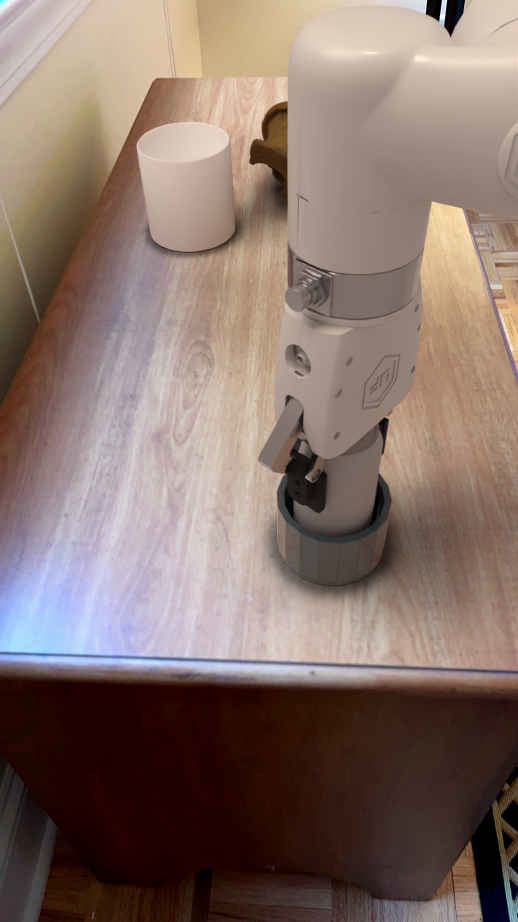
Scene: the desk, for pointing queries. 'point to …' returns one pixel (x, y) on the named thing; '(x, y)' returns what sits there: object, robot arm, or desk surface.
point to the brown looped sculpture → (274, 145)
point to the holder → (332, 542)
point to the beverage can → (346, 489)
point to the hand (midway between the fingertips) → (336, 472)
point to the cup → (188, 185)
